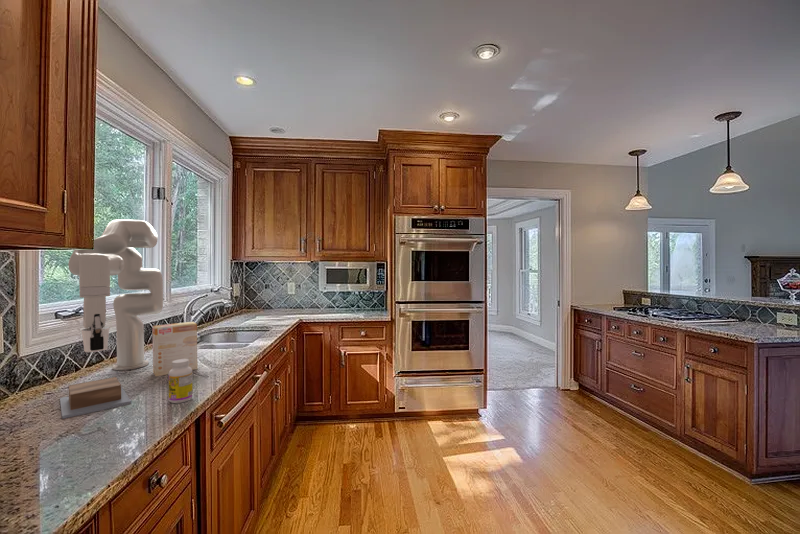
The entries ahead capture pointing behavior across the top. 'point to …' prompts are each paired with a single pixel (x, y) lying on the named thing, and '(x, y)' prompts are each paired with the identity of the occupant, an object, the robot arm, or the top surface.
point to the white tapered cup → (87, 335)
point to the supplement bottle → (180, 381)
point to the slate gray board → (67, 412)
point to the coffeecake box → (174, 346)
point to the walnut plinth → (94, 393)
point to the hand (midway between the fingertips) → (95, 347)
